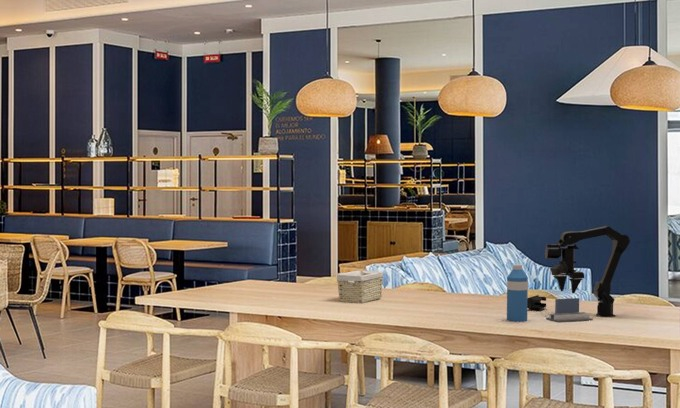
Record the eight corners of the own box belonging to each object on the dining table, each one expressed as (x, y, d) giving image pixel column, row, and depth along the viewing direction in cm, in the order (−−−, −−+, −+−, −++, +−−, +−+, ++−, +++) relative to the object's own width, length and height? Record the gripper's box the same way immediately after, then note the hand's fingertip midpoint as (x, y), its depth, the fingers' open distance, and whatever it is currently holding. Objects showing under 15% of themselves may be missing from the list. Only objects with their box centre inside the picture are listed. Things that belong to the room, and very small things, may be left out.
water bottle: (524, 318, 429) (525, 264, 428) (529, 321, 420) (530, 265, 419) (504, 318, 429) (505, 264, 428) (508, 321, 419) (509, 265, 419)
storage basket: (362, 304, 479) (362, 275, 478) (335, 301, 487) (335, 273, 486) (384, 299, 499) (384, 271, 499) (357, 297, 507) (358, 269, 507)
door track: (579, 317, 434) (579, 311, 434) (592, 320, 424) (592, 314, 424) (546, 319, 427) (546, 313, 427) (558, 322, 418) (558, 316, 418)
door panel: (577, 315, 442) (577, 298, 442) (579, 315, 441) (579, 298, 441) (555, 316, 438) (555, 299, 438) (557, 316, 437) (557, 299, 436)
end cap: (532, 308, 465) (532, 294, 465) (546, 309, 461) (546, 295, 461) (525, 310, 457) (525, 296, 457) (539, 311, 453) (539, 297, 453)
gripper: (541, 257, 445) (541, 290, 445) (564, 260, 427) (564, 295, 428) (562, 257, 449) (561, 289, 449) (585, 260, 431) (584, 294, 432)
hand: (567, 292), depth 439 cm, fingers open, 9 cm apart
